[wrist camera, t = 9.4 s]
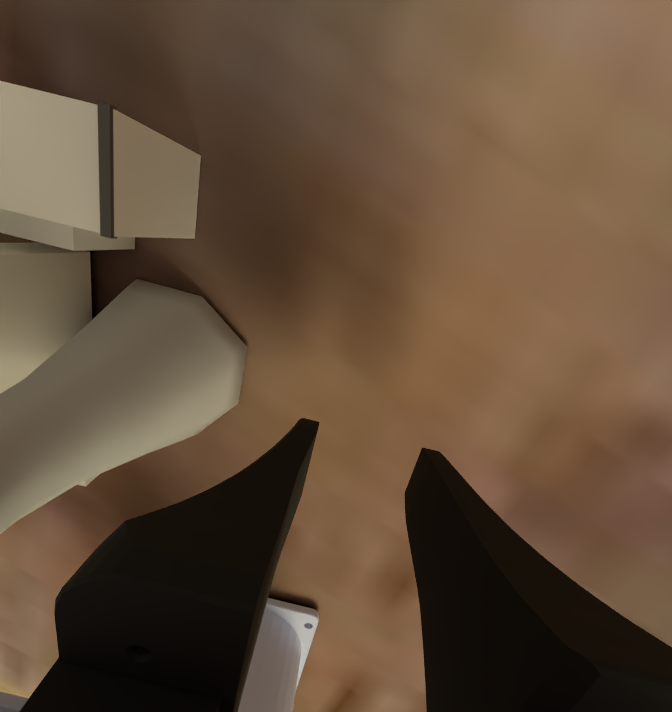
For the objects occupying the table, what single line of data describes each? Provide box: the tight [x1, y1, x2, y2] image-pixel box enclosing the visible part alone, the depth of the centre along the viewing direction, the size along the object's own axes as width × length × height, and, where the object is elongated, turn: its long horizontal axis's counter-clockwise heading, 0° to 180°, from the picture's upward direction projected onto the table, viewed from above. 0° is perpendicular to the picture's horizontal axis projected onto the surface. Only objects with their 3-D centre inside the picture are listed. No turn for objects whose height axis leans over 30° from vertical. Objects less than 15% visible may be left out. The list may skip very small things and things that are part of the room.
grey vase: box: [0, 279, 248, 534], centre depth 10 cm, size 7×7×10 cm
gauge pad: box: [0, 243, 92, 394], centre depth 11 cm, size 12×2×6 cm, turn 167°
